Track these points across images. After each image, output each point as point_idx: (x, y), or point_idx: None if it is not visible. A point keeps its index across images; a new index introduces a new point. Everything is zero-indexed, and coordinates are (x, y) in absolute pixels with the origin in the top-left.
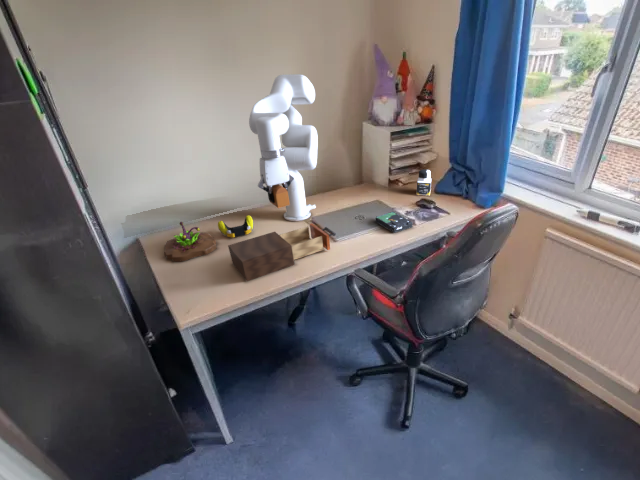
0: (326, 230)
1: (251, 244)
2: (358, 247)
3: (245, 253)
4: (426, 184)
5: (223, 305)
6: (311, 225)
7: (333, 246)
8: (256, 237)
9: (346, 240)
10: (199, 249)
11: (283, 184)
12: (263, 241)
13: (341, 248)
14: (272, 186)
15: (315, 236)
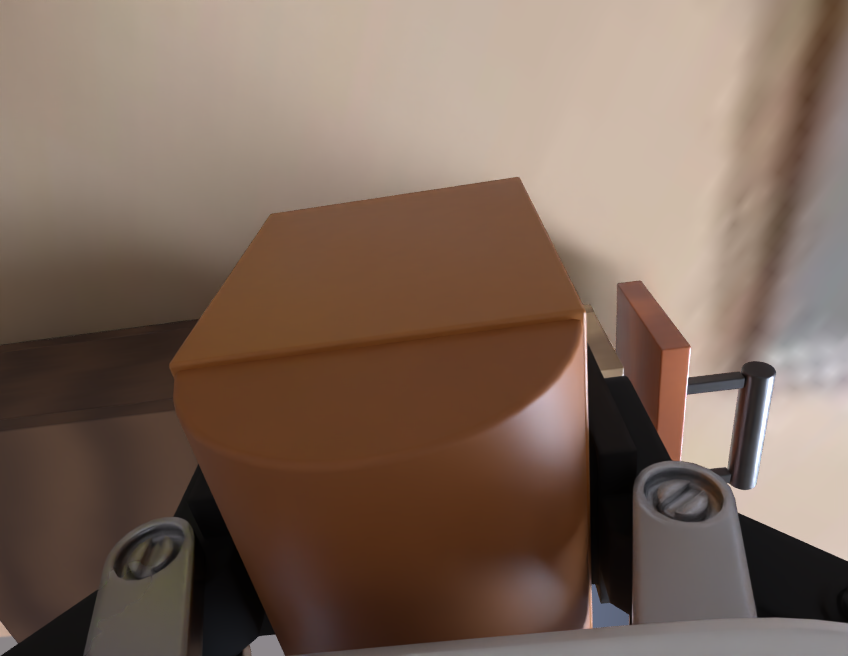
0: (738, 406)
1: (74, 509)
2: (797, 497)
3: (38, 593)
4: None
5: (3, 631)
6: (659, 380)
7: (684, 426)
8: (113, 428)
9: (810, 396)
10: None
11: (674, 583)
12: (172, 509)
13: (708, 466)
14: (293, 636)
15: (628, 377)
